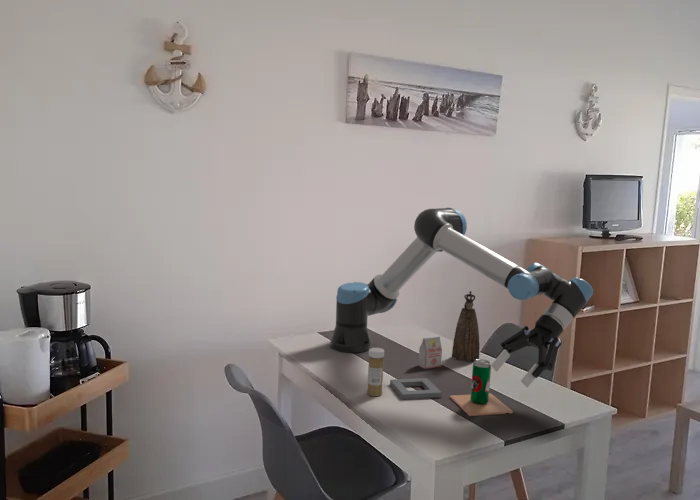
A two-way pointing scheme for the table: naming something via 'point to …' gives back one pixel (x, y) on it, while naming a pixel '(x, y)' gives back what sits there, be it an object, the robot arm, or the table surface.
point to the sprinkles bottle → (375, 371)
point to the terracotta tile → (486, 409)
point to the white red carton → (430, 353)
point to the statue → (466, 333)
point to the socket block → (429, 391)
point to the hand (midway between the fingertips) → (508, 376)
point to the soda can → (480, 381)
